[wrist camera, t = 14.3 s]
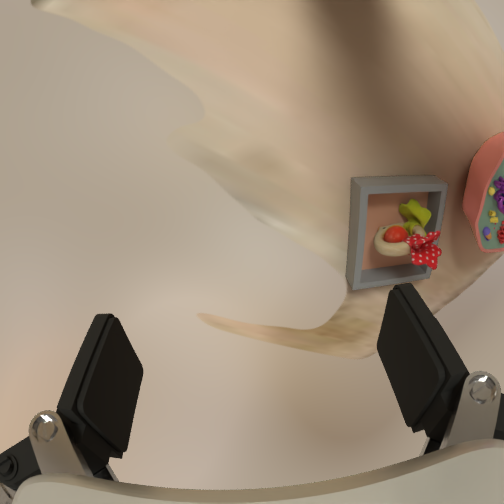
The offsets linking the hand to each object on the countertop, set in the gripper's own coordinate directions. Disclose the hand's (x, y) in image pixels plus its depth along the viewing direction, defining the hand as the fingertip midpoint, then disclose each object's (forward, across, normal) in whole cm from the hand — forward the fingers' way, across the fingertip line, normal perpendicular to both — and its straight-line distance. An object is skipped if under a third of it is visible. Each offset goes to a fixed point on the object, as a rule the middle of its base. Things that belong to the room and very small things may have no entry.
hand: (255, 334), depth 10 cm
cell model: (+29, -37, +4) cm, 47 cm away
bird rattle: (+28, -20, +11) cm, 36 cm away
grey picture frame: (+28, -20, +12) cm, 36 cm away
